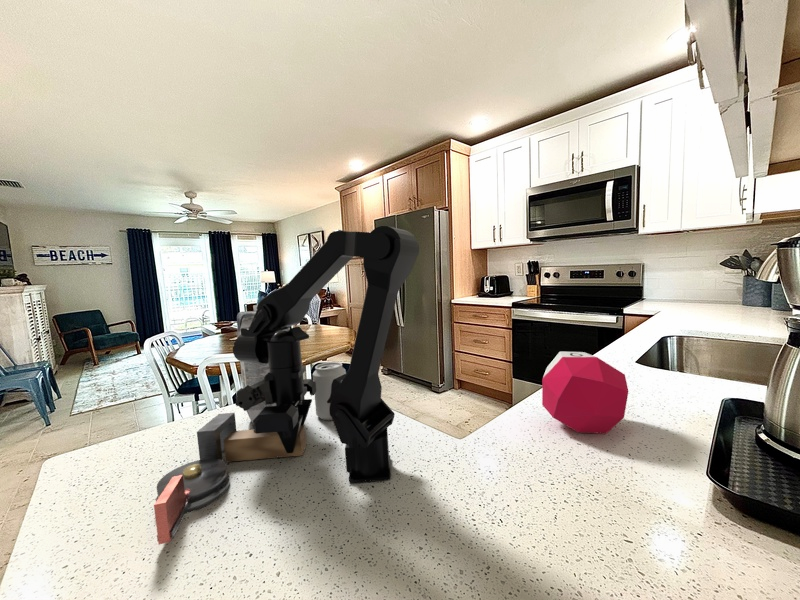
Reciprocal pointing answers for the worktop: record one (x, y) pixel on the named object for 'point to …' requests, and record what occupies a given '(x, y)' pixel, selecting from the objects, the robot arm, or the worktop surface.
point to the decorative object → (584, 392)
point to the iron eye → (215, 435)
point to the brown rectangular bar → (260, 445)
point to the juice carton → (252, 364)
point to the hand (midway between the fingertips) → (293, 447)
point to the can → (325, 386)
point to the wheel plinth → (208, 497)
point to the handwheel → (185, 493)
